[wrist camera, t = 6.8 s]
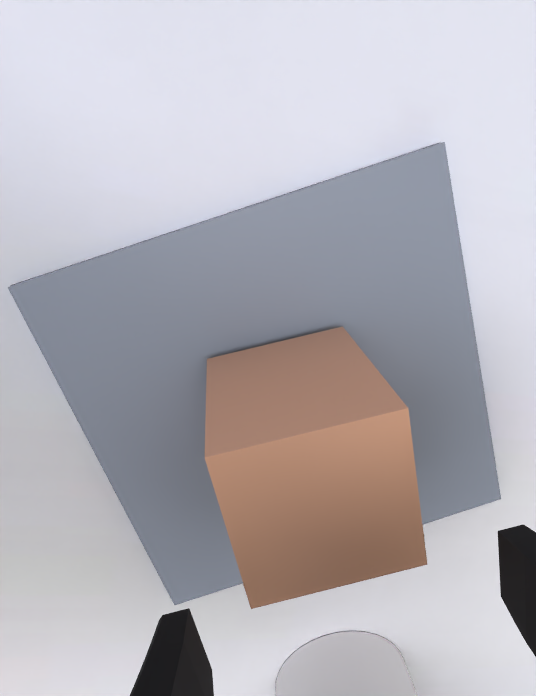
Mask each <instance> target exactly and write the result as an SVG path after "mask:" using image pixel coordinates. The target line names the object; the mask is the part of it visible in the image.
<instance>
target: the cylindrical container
mask: <svg viewBox="0 0 536 696" xmlns="http://www.w3.org/2000/svg"><path fill="white" fill-rule="evenodd" d="M276 696H418V695H417V692H416V690H415V687H414V685H413V682H412V680H411V677H410V674H409V672H408V669H407V667H406V664H405V661H404V659H403V657H402V655H401V653H400V651H399V650H398V649H397V647H396V646H395V645H394V644H393V643H391V642H390V641H388V640H387V639H385V638H383V637H381V636H378V635H376V634H372V633H367V632H358V631H348V632H338V633H333V634H329V635H325V636H322V637H320V638H317V639H315V640H313V641H311V642H309V643H307V644H305V645H304V646H302V647H300V648H299V649H298V650H297V651H295V652H294V653H293V654H292V655H291V656H290V657H289V658H288V659H287V660H286V661H285V663H284V664H283V666H282V667H281V669H280V671H279V673H278V676H277V680H276Z"/></svg>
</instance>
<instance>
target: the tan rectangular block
mask: <svg viewBox="0 0 536 696" xmlns="http://www.w3.org/2000/svg"><path fill="white" fill-rule="evenodd" d="M205 461H206V464H207V467H208V471H209V474H210V477H211V480H212V484H213V487H214V490H215V493H216V497H217V500H218V503H219V506H220V510H221V513H222V516H223V519H224V523H225V526H226V529H227V532H228V536H229V539H230V542H231V545H232V549H233V552H234V555H235V558H236V562H237V565H238V568H239V571H240V575H241V578H242V581H243V584H244V588H245V591H246V594H247V597H248V601H249V604H250V607H251V609H253V608H257V607H261V606H265V605H268V604H272V603H276V602H280V601H284V600H288V599H292V598H296V597H300V596H304V595H308V594H312V593H316V592H320V591H324V590H328V589H332V588H336V587H340V586H344V585H348V584H352V583H356V582H360V581H364V580H368V579H372V578H376V577H380V576H383V575H387V574H391V573H395V572H399V571H403V570H407V569H411V568H415V567H419V566H423V565H427V558H426V550H425V542H424V533H423V525H422V517H421V509H420V500H419V492H418V484H417V476H416V467H415V459H414V451H413V443H412V434H411V426H410V418H409V409H408V407H407V406H406V405H405V403H404V402H403V401H402V400H401V398H400V397H399V396H398V395H397V393H396V392H395V391H394V390H393V388H392V387H391V386H390V385H389V383H388V382H387V381H386V380H385V378H384V377H383V376H382V375H381V374H380V372H379V371H378V370H377V369H376V367H375V366H374V365H373V364H372V362H371V361H370V360H369V359H368V357H367V356H366V355H365V354H364V352H363V351H362V350H361V349H360V347H359V346H358V345H357V344H356V342H355V341H354V340H353V339H352V337H351V336H350V335H349V334H348V332H347V331H346V330H345V329H344V328H343V326H342V327H338V328H334V329H330V330H326V331H321V332H317V333H313V334H309V335H305V336H301V337H296V338H292V339H288V340H284V341H280V342H275V343H271V344H267V345H263V346H259V347H255V348H250V349H246V350H242V351H238V352H234V353H229V354H225V355H221V356H217V357H213V358H208V359H207V374H206V417H205Z"/></svg>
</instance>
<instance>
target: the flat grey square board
mask: <svg viewBox="0 0 536 696" xmlns="http://www.w3.org/2000/svg"><path fill="white" fill-rule="evenodd" d="M8 289H9V291H10V293H11V294H12V296H13V298H14V300H15V302H16V304H17V306H18V308H19V310H20V312H21V314H22V315H23V317H24V319H25V321H26V323H27V325H28V327H29V329H30V331H31V333H32V334H33V336H34V338H35V340H36V342H37V344H38V346H39V348H40V350H41V352H42V354H43V355H44V357H45V359H46V361H47V363H48V365H49V367H50V369H51V371H52V373H53V374H54V376H55V378H56V380H57V382H58V384H59V386H60V388H61V390H62V392H63V394H64V395H65V397H66V399H67V401H68V403H69V405H70V407H71V409H72V411H73V413H74V414H75V416H76V418H77V420H78V422H79V424H80V426H81V428H82V430H83V432H84V434H85V435H86V437H87V439H88V441H89V443H90V445H91V447H92V449H93V451H94V453H95V454H96V456H97V458H98V460H99V462H100V464H101V466H102V468H103V470H104V472H105V474H106V475H107V477H108V479H109V481H110V483H111V485H112V487H113V489H114V491H115V493H116V494H117V496H118V498H119V500H120V502H121V504H122V506H123V508H124V510H125V512H126V514H127V515H128V517H129V519H130V521H131V523H132V525H133V527H134V529H135V531H136V533H137V534H138V536H139V538H140V540H141V542H142V544H143V546H144V548H145V550H146V552H147V554H148V555H149V557H150V559H151V561H152V563H153V565H154V567H155V569H156V571H157V573H158V574H159V576H160V578H161V580H162V582H163V584H164V586H165V588H166V590H167V592H168V594H169V595H170V597H171V599H172V601H173V603H174V605H177V604H180V603H183V602H186V601H189V600H192V599H195V598H199V597H202V596H205V595H208V594H211V593H214V592H217V591H220V590H223V589H226V588H229V587H232V586H235V585H238V584H241V583H243V581H242V578H241V575H240V571H239V568H238V565H237V562H236V558H235V555H234V552H233V549H232V545H231V542H230V539H229V536H228V532H227V529H226V526H225V523H224V519H223V516H222V513H221V510H220V506H219V503H218V500H217V497H216V493H215V490H214V487H213V484H212V480H211V477H210V474H209V471H208V467H207V464H206V461H205V417H206V374H207V359H208V358H213V357H217V356H221V355H225V354H229V353H234V352H238V351H242V350H246V349H250V348H255V347H259V346H263V345H267V344H271V343H275V342H280V341H284V340H288V339H292V338H296V337H301V336H305V335H309V334H313V333H317V332H321V331H326V330H330V329H334V328H338V327H342V326H343V328H344V329H345V330H346V331H347V332H348V334H349V335H350V336H351V337H352V339H353V340H354V341H355V342H356V344H357V345H358V346H359V347H360V349H361V350H362V351H363V352H364V354H365V355H366V356H367V357H368V359H369V360H370V361H371V362H372V364H373V365H374V366H375V367H376V369H377V370H378V371H379V372H380V374H381V375H382V376H383V377H384V378H385V380H386V381H387V382H388V383H389V385H390V386H391V387H392V388H393V390H394V391H395V392H396V393H397V395H398V396H399V397H400V398H401V400H402V401H403V402H404V403H405V405H406V406H407V407H408V409H409V418H410V426H411V434H412V443H413V451H414V459H415V467H416V476H417V484H418V492H419V500H420V509H421V517H422V525H423V524H426V523H429V522H432V521H435V520H438V519H441V518H444V517H447V516H450V515H453V514H456V513H459V512H462V511H465V510H469V509H472V508H475V507H478V506H481V505H484V504H487V503H490V502H493V501H496V500H499V499H501V495H500V489H499V483H498V476H497V470H496V464H495V457H494V451H493V445H492V438H491V432H490V426H489V419H488V413H487V407H486V401H485V394H484V388H483V382H482V375H481V369H480V363H479V356H478V350H477V344H476V337H475V331H474V325H473V319H472V312H471V306H470V300H469V293H468V287H467V281H466V274H465V268H464V262H463V255H462V249H461V243H460V237H459V230H458V224H457V218H456V211H455V205H454V199H453V192H452V186H451V180H450V173H449V167H448V161H447V155H446V148H445V142H443V143H438V144H435V145H432V146H429V147H426V148H423V149H420V150H417V151H414V152H411V153H408V154H405V155H402V156H399V157H396V158H393V159H390V160H386V161H383V162H380V163H377V164H374V165H371V166H368V167H365V168H362V169H359V170H356V171H353V172H350V173H347V174H344V175H341V176H338V177H335V178H332V179H329V180H326V181H323V182H320V183H317V184H314V185H311V186H308V187H305V188H302V189H299V190H296V191H293V192H290V193H287V194H284V195H281V196H278V197H275V198H272V199H269V200H266V201H263V202H260V203H257V204H254V205H251V206H248V207H245V208H242V209H239V210H236V211H233V212H230V213H227V214H224V215H221V216H218V217H215V218H212V219H209V220H206V221H203V222H200V223H197V224H194V225H191V226H188V227H185V228H182V229H179V230H176V231H173V232H170V233H167V234H164V235H161V236H158V237H155V238H152V239H149V240H146V241H143V242H140V243H137V244H134V245H131V246H128V247H125V248H122V249H119V250H116V251H113V252H110V253H107V254H104V255H101V256H98V257H95V258H92V259H89V260H86V261H83V262H80V263H77V264H74V265H71V266H68V267H65V268H62V269H59V270H56V271H53V272H50V273H47V274H44V275H41V276H38V277H35V278H32V279H29V280H26V281H23V282H20V283H17V284H14V285H11V286H10V287H8Z"/></svg>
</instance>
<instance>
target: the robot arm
mask: <svg viewBox="0 0 536 696" xmlns="http://www.w3.org/2000/svg"><path fill="white" fill-rule="evenodd" d="M498 545H499V566H500V587H501V597H502V599H503V601H504V603H505V605H506V607H507V609H508V611H509V612H510V614H511V616H512V618H513V620H514V622H515V623H516V625H517V627H518V629H519V631H520V632H521V634H522V636H523V638H524V639H525V641H526V643H527V644H528V646H529V647H530V649H531V650H532V652H533V653H534V655H535V656H536V533H535V532H534V531H533V530H531V529H530V528H528V527H527V526H525V525H520V526H516V527H512V528H508V529H504V530H500V531H498ZM130 696H214V693H213V678H212V669H211V666H210V663H209V661H208V658H207V655H206V652H205V650H204V647H203V644H202V642H201V639H200V636H199V634H198V631H197V628H196V625H195V623H194V620H193V617H192V615H191V612H190V609H185V610H181V611H177V612H173V613H169V614H165V615H162V617H161V618H160V620H159V622H158V625H157V628H156V631H155V633H154V636H153V639H152V642H151V644H150V647H149V650H148V652H147V655H146V657H145V660H144V662H143V665H142V667H141V670H140V672H139V675H138V677H137V680H136V682H135V685H134V687H133V689H132V692H131V694H130Z"/></svg>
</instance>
